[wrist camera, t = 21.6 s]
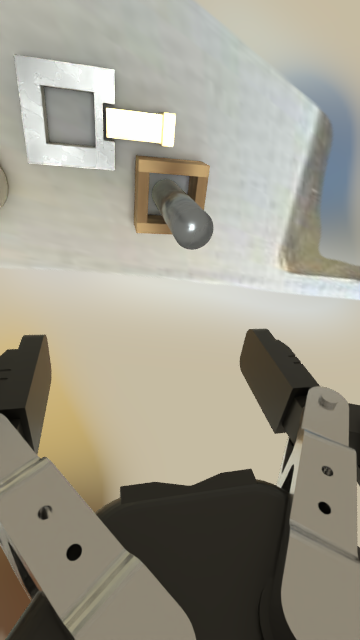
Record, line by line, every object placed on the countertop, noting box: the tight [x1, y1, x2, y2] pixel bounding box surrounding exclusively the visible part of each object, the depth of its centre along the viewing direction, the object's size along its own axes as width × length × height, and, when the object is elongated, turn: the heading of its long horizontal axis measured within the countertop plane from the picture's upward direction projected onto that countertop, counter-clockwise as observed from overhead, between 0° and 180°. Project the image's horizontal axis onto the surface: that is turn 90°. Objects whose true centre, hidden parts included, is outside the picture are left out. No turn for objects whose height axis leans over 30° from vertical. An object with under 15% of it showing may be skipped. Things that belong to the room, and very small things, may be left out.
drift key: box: [106, 108, 176, 147], centre depth 34 cm, size 7×3×4 cm, turn 84°
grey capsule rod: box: [152, 179, 213, 250], centre depth 34 cm, size 4×4×15 cm
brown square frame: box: [134, 155, 210, 234], centre depth 39 cm, size 8×8×4 cm
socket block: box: [14, 54, 115, 171], centre depth 33 cm, size 9×9×2 cm
